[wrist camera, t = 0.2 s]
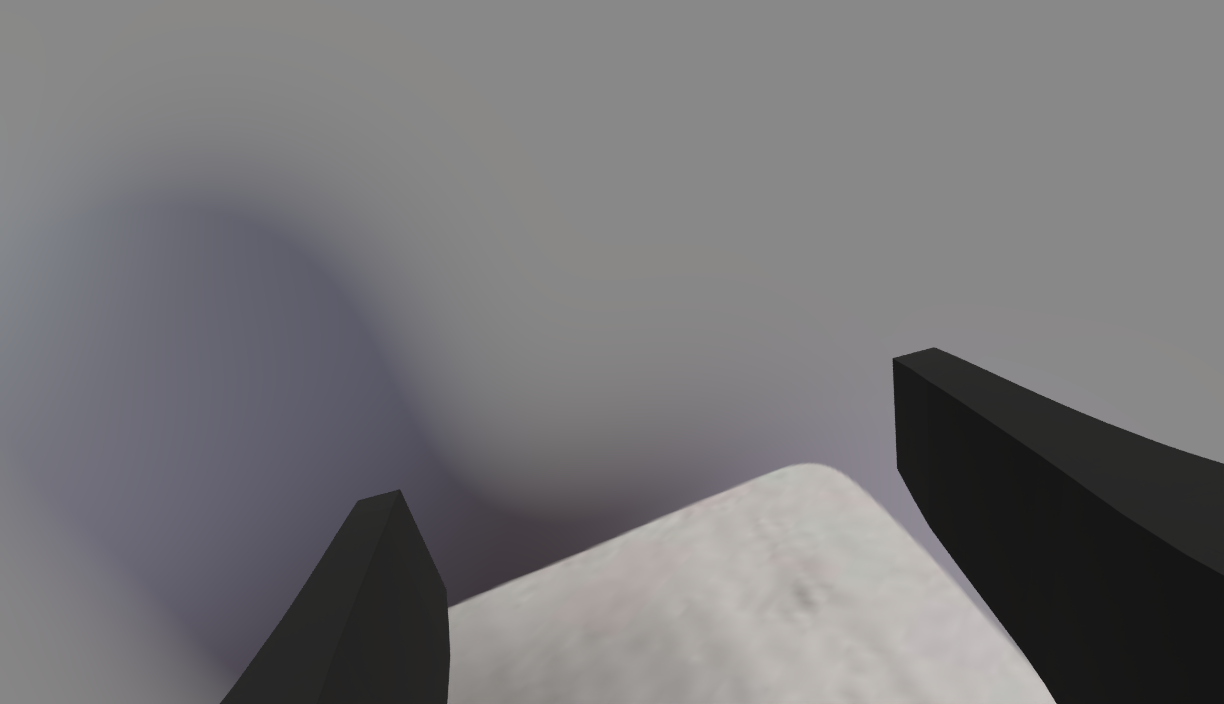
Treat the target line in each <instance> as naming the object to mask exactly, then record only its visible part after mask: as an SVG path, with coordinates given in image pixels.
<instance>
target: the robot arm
mask: <svg viewBox="0 0 1224 704" xmlns="http://www.w3.org/2000/svg"><path fill="white" fill-rule="evenodd" d="M893 380H894V404H895V428H896V452H897V469H898V471H899V473H900V474H901V476H902V478H903V480H904V482H905V484H906V486H907V487H908V489H909V491H910V493H911V495H912V497H913V499H914V501H915V502H916V504H917V506H918V507H919V509H920V511H921V513H922V514H923V516H924V518H925V520H926V521H927V523H928V525H929V527H930V528H931V529H932V531H933V532H934V534H935V535H936V536H937V538H938V539H939V541H940V542H941V543H942V545H943V546H944V547H945V549H946V550H947V551H948V553H949V554H950V555H951V557H952V558H953V559H954V561H955V562H956V564H957V565H958V566H959V568H960V569H961V570H962V572H963V573H964V574H965V575H966V577H967V578H968V580H969V581H970V582H971V584H972V585H973V586H974V588H975V589H976V590H977V592H978V593H979V594H980V596H981V597H982V598H983V600H984V601H985V602H986V604H987V605H988V606H989V607H990V609H991V610H992V611H993V613H994V614H995V616H996V617H997V618H998V620H999V621H1000V622H1001V624H1002V625H1003V626H1004V628H1005V629H1006V630H1007V632H1008V633H1009V634H1010V636H1011V637H1012V638H1013V640H1014V641H1015V642H1016V644H1017V645H1018V646H1019V648H1020V649H1021V650H1022V652H1023V653H1024V654H1025V656H1026V657H1027V659H1028V660H1029V662H1030V663H1031V665H1032V666H1033V668H1034V669H1035V671H1036V672H1037V673H1038V675H1039V676H1040V678H1041V679H1042V681H1043V682H1044V684H1045V685H1046V687H1047V689H1048V690H1049V692H1050V693H1051V695H1052V697H1053V698H1054V700H1055V702H1056V703H1057V704H1224V464H1223V463H1220V462H1216V461H1213V460H1209V459H1207V458H1203V457H1200V456H1197V455H1194V454H1190V453H1187V452H1185V451H1181V450H1179V449H1176V448H1172V447H1169V446H1167V445H1164V444H1161V443H1158V442H1155V441H1153V440H1150V439H1147V438H1145V437H1142V436H1140V435H1137V434H1135V433H1132V432H1129V431H1127V430H1124V429H1121V428H1119V427H1116V426H1113V425H1111V424H1108V423H1106V422H1103V421H1101V420H1098V419H1096V418H1093V417H1091V416H1088V415H1086V414H1084V413H1081V412H1079V411H1076V410H1074V409H1072V408H1069V407H1067V406H1065V405H1062V404H1060V403H1058V402H1055V401H1053V400H1051V399H1049V398H1046V397H1044V396H1042V395H1039V394H1037V393H1035V392H1033V391H1030V390H1028V389H1026V388H1024V387H1022V386H1019V385H1017V384H1015V383H1013V382H1011V381H1009V380H1006V379H1004V378H1002V377H1000V376H998V375H996V374H993V373H991V372H989V371H987V370H985V369H982V368H980V367H978V366H976V365H974V364H971V363H969V362H967V361H965V360H963V359H960V358H958V357H956V356H954V355H951V354H949V353H947V352H944V351H942V350H939V349H937V348H930V349H926V350H922V351H919V352H915V353H911V354H907V355H903V356H900V357H896V358H893ZM449 668H450V641H449V621H448V607H447V592H446V588H445V586H444V583H443V581H442V579H441V577H440V575H439V573H438V570H437V568H436V566H435V564H434V562H433V560H432V557H431V555H430V553H429V551H428V549H427V547H426V545H425V542H424V540H423V538H422V536H421V534H420V532H419V530H418V527H417V525H416V523H415V521H414V519H413V516H412V514H411V512H410V510H409V508H408V506H407V503H406V501H405V499H404V497H403V495H402V493H401V491H400V490H396V491H393V492H389V493H385V494H381V495H377V496H374V497H370V498H366V499H362V500H359V501H358V502H357V503H356V505H355V506H354V508H353V509H352V511H351V512H350V514H349V515H348V517H347V518H346V520H345V522H344V523H343V525H342V526H341V528H340V529H339V531H338V533H337V534H336V536H335V537H334V539H333V541H332V542H331V544H330V545H329V547H328V549H327V550H326V552H325V553H324V555H323V557H322V558H321V560H320V561H319V563H318V565H317V566H316V568H315V569H314V571H313V572H312V574H311V576H310V577H309V579H308V580H307V582H306V584H305V585H304V586H303V588H302V590H301V591H300V593H299V594H298V596H297V597H296V599H295V600H294V602H293V603H292V605H291V606H290V608H289V609H288V611H287V612H286V614H285V615H284V617H283V619H282V620H281V621H280V623H279V624H278V625H277V627H276V628H275V630H274V631H273V632H272V634H271V635H270V637H269V638H268V639H267V641H266V642H265V643H264V645H263V646H262V648H261V649H260V651H259V652H258V653H257V655H256V656H255V658H254V659H253V660H252V662H251V663H250V664H249V666H248V667H247V669H246V670H245V671H244V673H243V674H242V676H241V677H240V678H239V680H238V681H237V682H236V684H235V685H234V687H233V688H232V689H231V690H230V692H229V693H228V694H227V695H226V697H225V698H224V699H223V700H222V702H221V703H220V704H447V699H448V684H449Z"/></svg>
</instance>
